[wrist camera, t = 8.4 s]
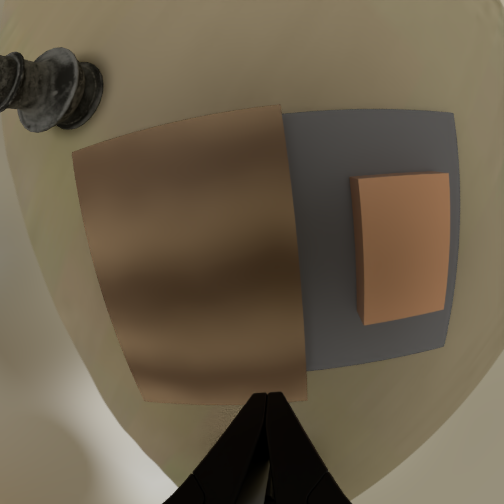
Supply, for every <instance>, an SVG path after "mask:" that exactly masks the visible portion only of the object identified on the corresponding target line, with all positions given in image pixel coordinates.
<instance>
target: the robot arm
mask: <svg viewBox="0 0 504 504" xmlns="http://www.w3.org/2000/svg"><path fill="white" fill-rule="evenodd" d="M193 474H194V475H193ZM193 474H190V475H189V477H188V478H187V479H186V480H185V481H184V483H183V484H182V485H181V486H180V487H179V488H178V489H177V490H176V491H175V492H174V493H173V495H171V496H170V497H169V498H168V499H167V500H166V501H165V502H164V503H163V504H352V503H351V502H350V501H349V499H348V498H347V497H346V496H345V495H344V493H343V492H342V490H341V489H340V487H339V486H338V484H337V483H336V482H335V480H334V478H333V477H332V475H331V474H330V472H328V469H327V467H326V466H325V464H324V462H323V461H322V459H321V457H320V456H319V454H318V452H317V451H316V449H315V447H314V446H313V444H312V442H311V441H310V439H309V437H308V436H307V434H306V432H305V431H304V429H303V427H302V425H301V424H300V422H299V420H298V418H297V417H296V415H295V413H294V412H293V410H292V408H291V406H290V405H289V403H288V401H287V399H286V398H285V396H284V394H283V393H282V392H281V391H279V392H269V393H268V394H267V393H266V392H262V393H253V394H252V395H251V397H250V398H249V399H248V401H247V402H246V404H245V405H244V406H243V408H242V409H241V410H240V412H239V413H238V415H237V416H236V417H235V419H234V420H233V421H232V423H231V424H230V425H229V427H228V428H227V429H226V431H225V432H224V433H223V434H222V436H221V437H220V438H219V440H218V441H217V442H216V443H215V445H214V446H213V447H212V449H211V450H210V451H209V452H208V454H207V455H206V456H205V457H204V459H203V460H202V461H201V462H200V464H199V465H198V466H197V467H196V468H195V470H194V471H193Z"/></svg>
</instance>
